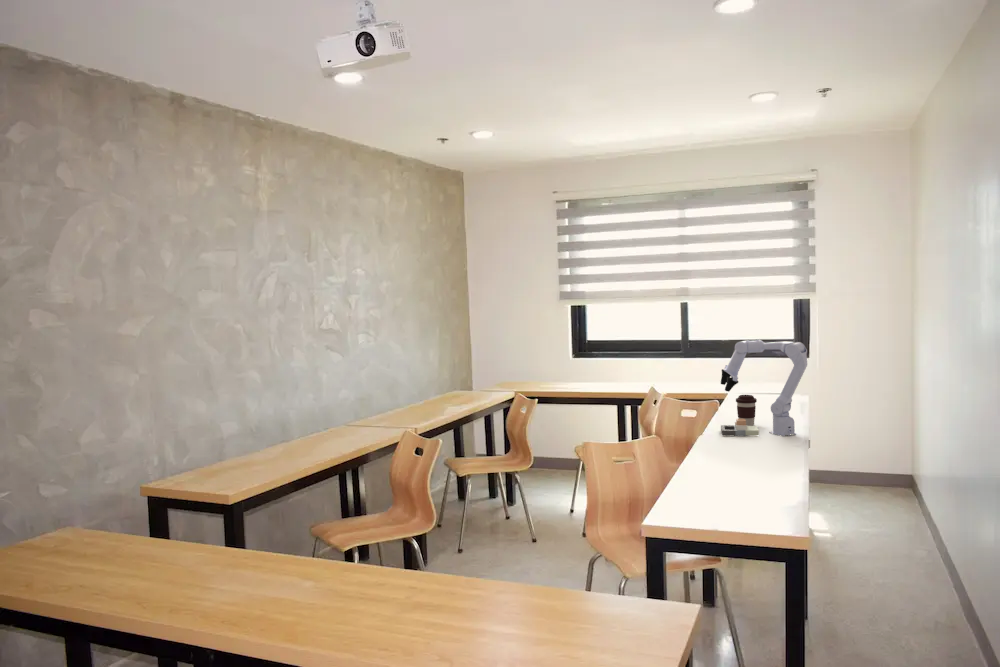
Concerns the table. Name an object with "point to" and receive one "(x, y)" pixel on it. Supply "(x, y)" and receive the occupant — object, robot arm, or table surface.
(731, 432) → the gray recessed tray
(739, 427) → the channel walls
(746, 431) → the pad
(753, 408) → the coffee cup
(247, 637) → the table surface
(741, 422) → the terracotta block
